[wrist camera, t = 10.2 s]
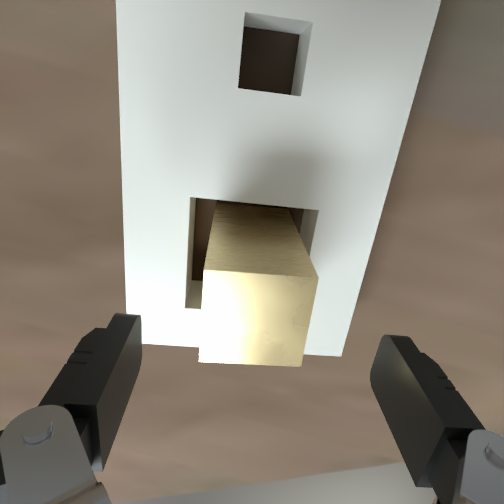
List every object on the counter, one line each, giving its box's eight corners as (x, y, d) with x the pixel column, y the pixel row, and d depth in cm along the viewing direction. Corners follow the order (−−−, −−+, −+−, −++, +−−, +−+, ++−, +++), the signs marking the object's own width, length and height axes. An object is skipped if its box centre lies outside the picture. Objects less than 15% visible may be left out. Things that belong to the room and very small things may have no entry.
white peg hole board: (426, -65, 15) (469, -102, 12) (328, 325, 23) (340, 356, 20) (135, -118, 14) (110, -171, 11) (141, 311, 22) (127, 342, 19)
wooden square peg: (287, 209, 19) (318, 277, 12) (278, 272, 21) (300, 366, 14) (215, 203, 19) (203, 269, 12) (211, 267, 21) (198, 361, 13)
